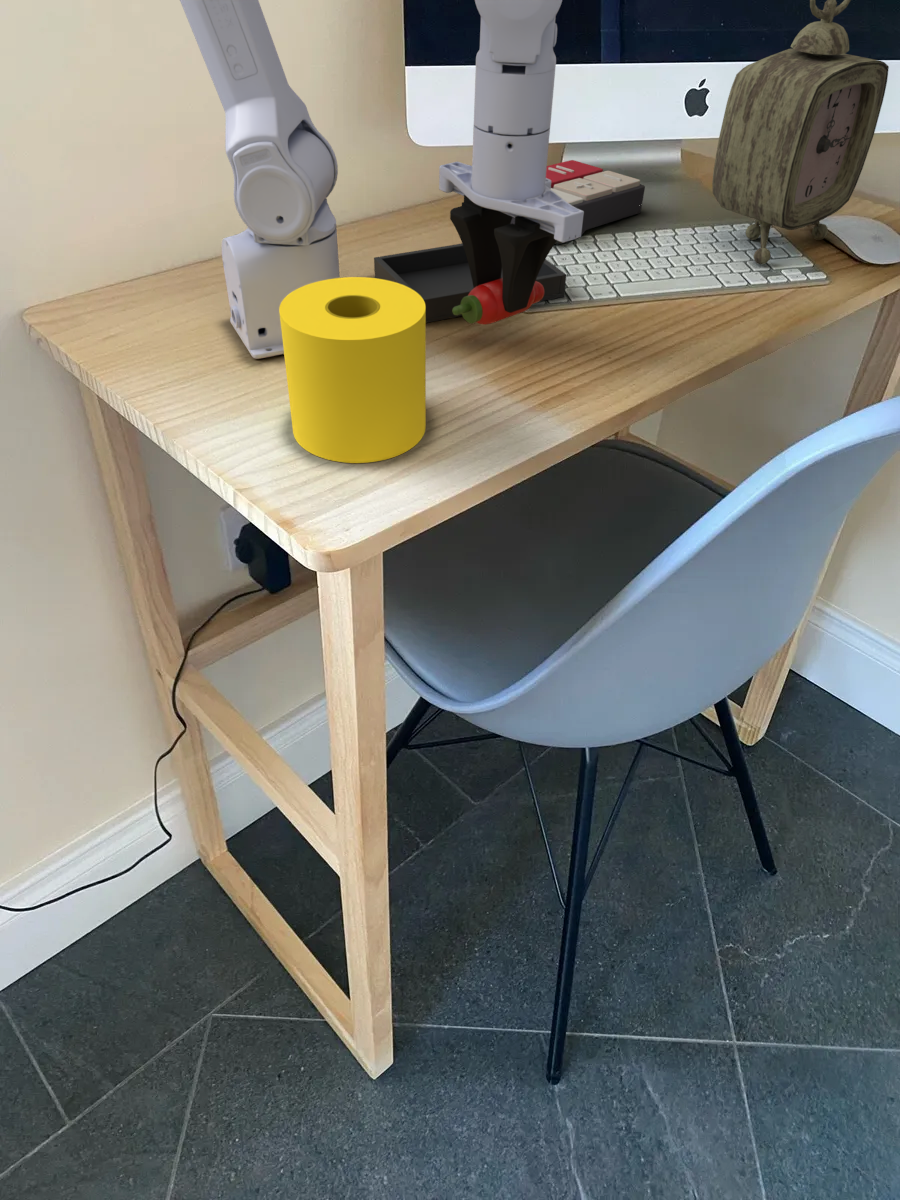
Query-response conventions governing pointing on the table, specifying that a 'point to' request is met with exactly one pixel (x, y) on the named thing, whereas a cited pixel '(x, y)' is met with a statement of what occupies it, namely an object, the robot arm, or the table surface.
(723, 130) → the tabletop clock
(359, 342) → the yellow toilet paper roll
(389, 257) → the tray
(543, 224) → the robot arm
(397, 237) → the table surface
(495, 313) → the chili
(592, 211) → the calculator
